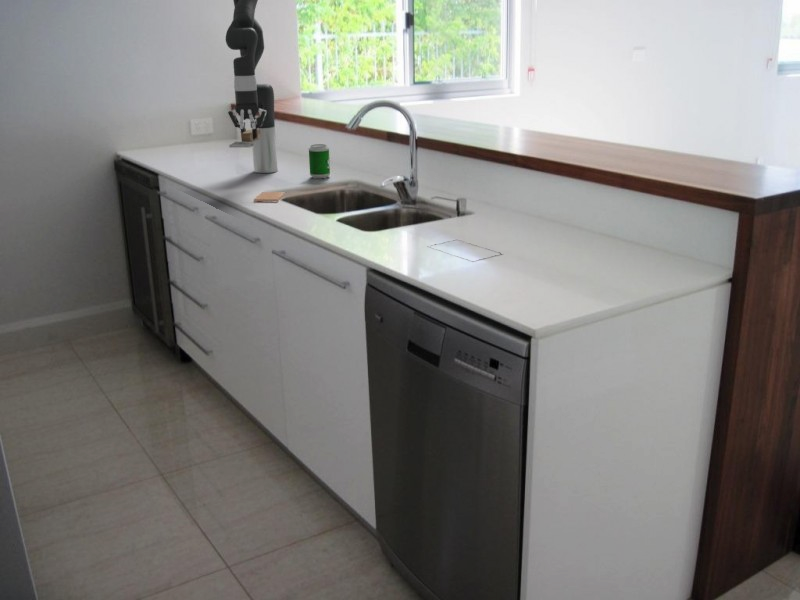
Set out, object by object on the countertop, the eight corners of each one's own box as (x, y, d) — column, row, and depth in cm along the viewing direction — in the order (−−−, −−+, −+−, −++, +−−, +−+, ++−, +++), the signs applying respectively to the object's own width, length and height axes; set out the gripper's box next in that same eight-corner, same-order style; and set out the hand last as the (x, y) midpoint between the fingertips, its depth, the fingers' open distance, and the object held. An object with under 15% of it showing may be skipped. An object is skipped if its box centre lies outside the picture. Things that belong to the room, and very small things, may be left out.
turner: (247, 138, 287) (246, 128, 286) (266, 137, 287) (265, 128, 285) (229, 147, 267) (228, 137, 265) (249, 147, 266) (248, 137, 265)
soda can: (326, 179, 295) (325, 147, 291) (307, 178, 296) (305, 146, 292) (332, 175, 302) (331, 144, 298) (313, 175, 303) (312, 143, 299)
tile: (262, 192, 270) (253, 199, 260) (285, 192, 269) (277, 199, 259) (262, 196, 270) (254, 203, 260) (285, 196, 270) (277, 203, 259)
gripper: (268, 88, 275) (271, 138, 281) (229, 88, 277) (233, 138, 282) (263, 89, 268) (266, 141, 274) (222, 90, 270) (227, 141, 275)
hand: (249, 139), depth 278 cm, fingers closed on turner, 3 cm apart
